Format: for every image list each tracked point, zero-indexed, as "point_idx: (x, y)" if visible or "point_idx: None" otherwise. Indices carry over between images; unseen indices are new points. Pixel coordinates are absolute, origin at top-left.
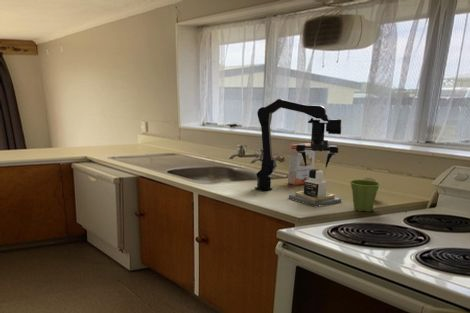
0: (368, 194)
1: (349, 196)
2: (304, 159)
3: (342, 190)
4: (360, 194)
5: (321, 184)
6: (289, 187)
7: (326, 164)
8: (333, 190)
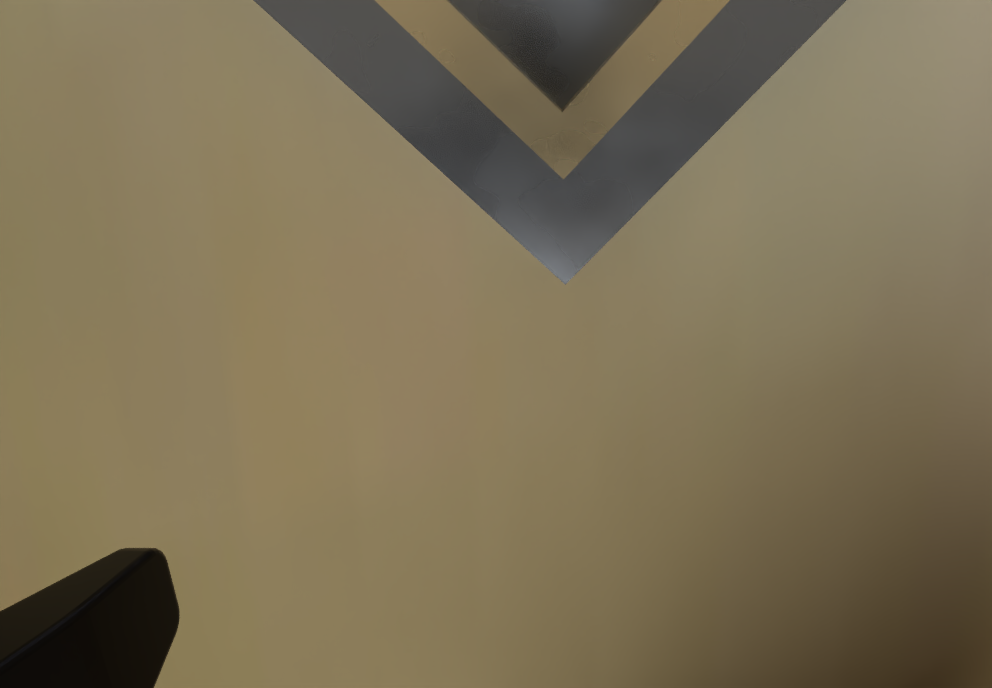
0: None
1: (20, 308)
2: None
3: None
4: None
5: None
6: (952, 597)
7: (37, 622)
8: (285, 593)
